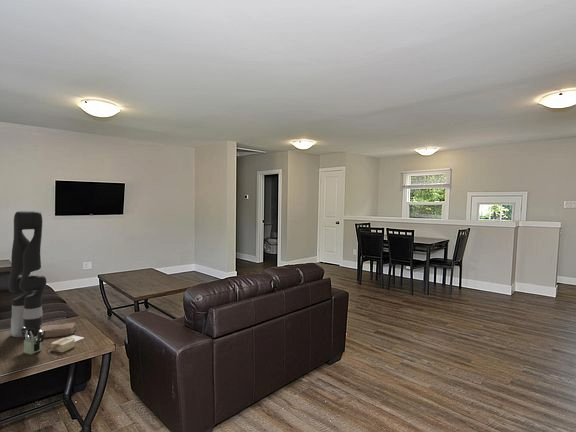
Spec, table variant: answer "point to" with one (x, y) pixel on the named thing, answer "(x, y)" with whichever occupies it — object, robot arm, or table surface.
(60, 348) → the base block
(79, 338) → the page
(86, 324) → the table surface
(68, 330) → the brick
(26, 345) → the green block
